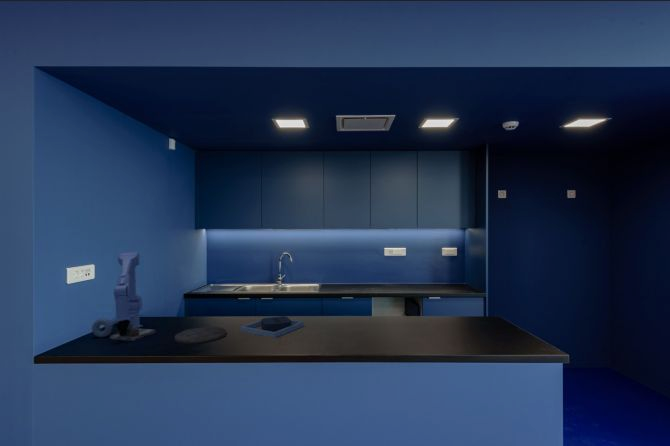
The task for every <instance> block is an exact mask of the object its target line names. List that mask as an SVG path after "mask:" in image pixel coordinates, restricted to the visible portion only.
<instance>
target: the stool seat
mask: <svg viewBox="0 0 670 446" xmlns="http://www.w3.org/2000/svg"><path fill="white" fill-rule="evenodd" d="M128 328H132V324H129V326H128ZM135 329H139V335H137V336H120V335H118V332H117V333H115V334H112V335H109V339H110V340H118V341H131V342H133V341H136V339H137V340H139V339H142V338H144V336H145V337H147V335H148V336H151V335H153V334H155V333H156V332H157V331H156V329H150V328H149V329H148V328H140V327H138V328H135Z"/></svg>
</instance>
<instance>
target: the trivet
mask: <svg viewBox="0 0 670 446" xmlns="http://www.w3.org/2000/svg"><path fill="white" fill-rule="evenodd" d="M226 336H227V329H225V328H223V327H218V326H204V327H202V326H201V327H194V328H189V329H185V330H183V331H180V332H178V333H175V336H174V341H175V342H176V343H177V344H178V343H179V344H182V345H199V344H200V345H201V344H206V343H207V344H208V343H211V342H215V341H218V340H221V339H223V338H225V337H226Z"/></svg>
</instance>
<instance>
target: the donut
mask: <svg viewBox="0 0 670 446" xmlns="http://www.w3.org/2000/svg"><path fill="white" fill-rule="evenodd" d="M108 321H110V319H108V318H105V317H101V318H97V319H96V320H95V321H94V322H93V323H92V326H91V330H92V333H93V335H95V336H96V337H98V338H106V337H108V336H110V334H112V331H113V325H108ZM101 326H104V330H101V329H100V327H101Z"/></svg>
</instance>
